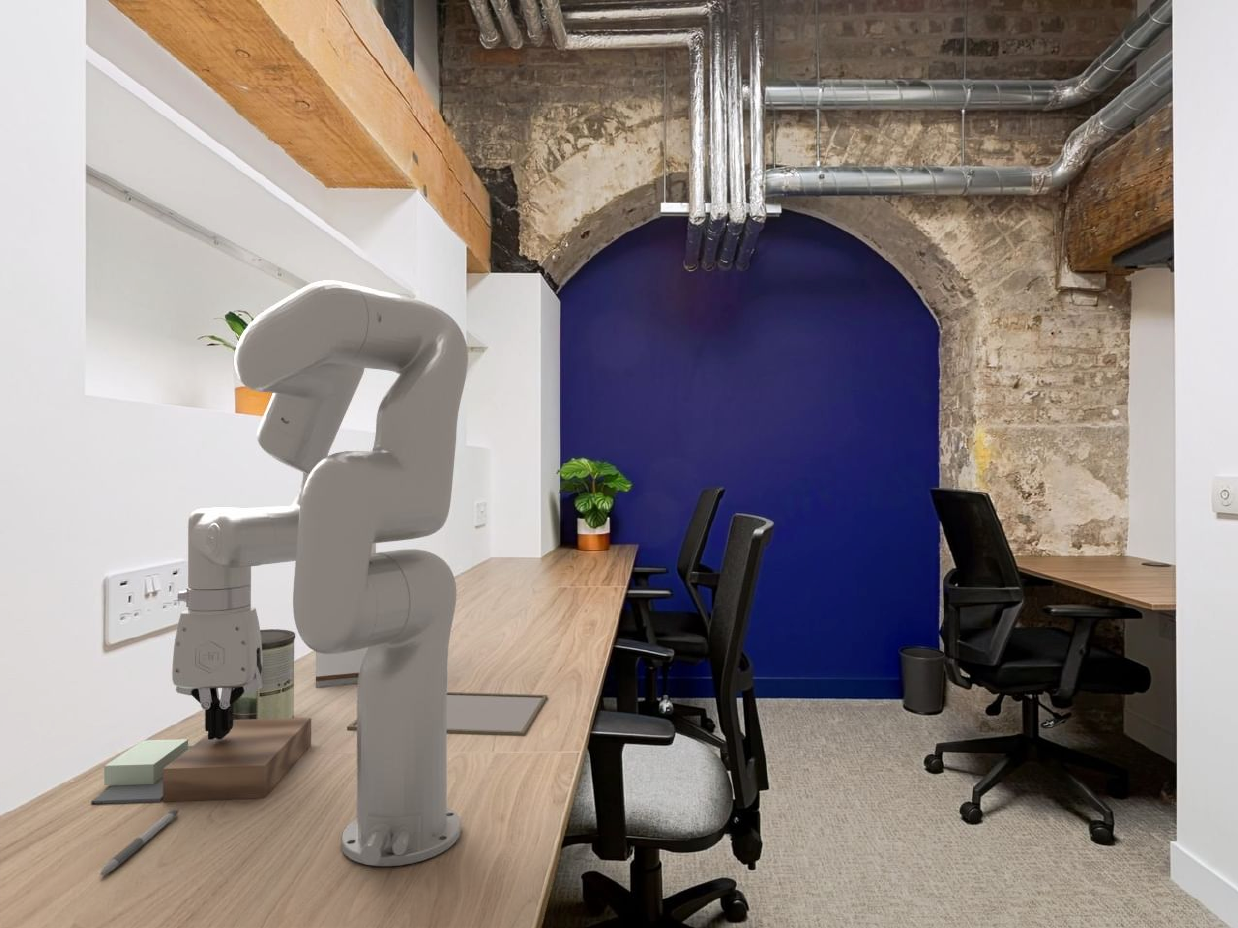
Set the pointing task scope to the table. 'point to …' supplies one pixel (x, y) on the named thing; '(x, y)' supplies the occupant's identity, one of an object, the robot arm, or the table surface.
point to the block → (143, 762)
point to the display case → (339, 664)
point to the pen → (138, 842)
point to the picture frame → (489, 713)
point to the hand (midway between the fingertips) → (219, 735)
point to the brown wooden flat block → (238, 761)
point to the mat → (132, 793)
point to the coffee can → (271, 680)
